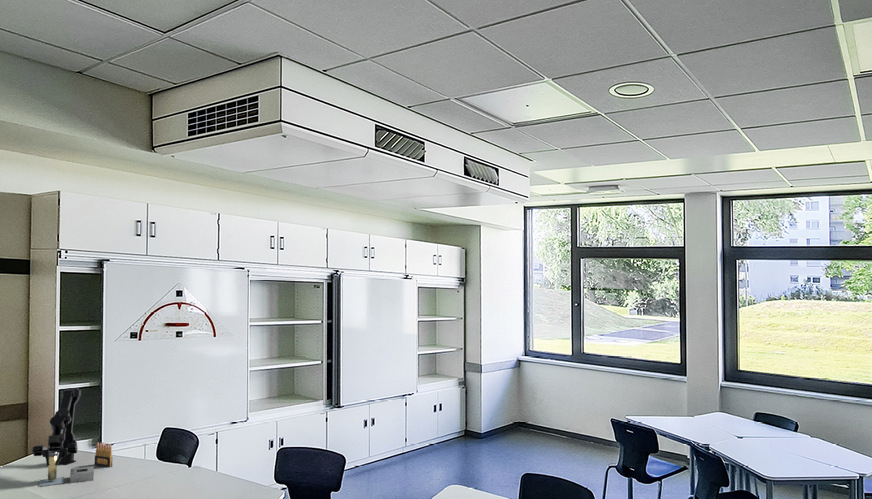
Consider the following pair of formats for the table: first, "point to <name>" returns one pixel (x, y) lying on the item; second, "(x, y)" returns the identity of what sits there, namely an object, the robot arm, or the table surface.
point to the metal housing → (81, 474)
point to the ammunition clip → (103, 455)
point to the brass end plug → (52, 465)
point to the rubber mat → (51, 482)
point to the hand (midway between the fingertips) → (51, 465)
